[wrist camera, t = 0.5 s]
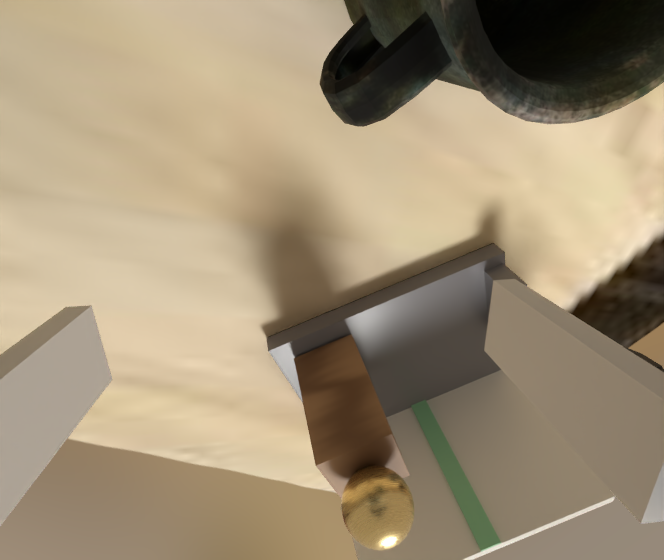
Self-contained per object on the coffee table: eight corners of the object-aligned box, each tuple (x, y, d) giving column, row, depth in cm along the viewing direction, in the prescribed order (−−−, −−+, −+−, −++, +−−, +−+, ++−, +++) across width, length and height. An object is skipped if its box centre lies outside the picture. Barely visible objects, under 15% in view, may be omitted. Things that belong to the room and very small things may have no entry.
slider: (318, 398, 33) (363, 577, 23) (293, 358, 30) (332, 547, 19) (370, 377, 33) (438, 545, 23) (351, 334, 30) (422, 510, 19)
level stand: (328, 433, 40) (370, 601, 28) (266, 337, 30) (293, 534, 19) (500, 361, 40) (613, 501, 28) (493, 243, 30) (660, 381, 19)
